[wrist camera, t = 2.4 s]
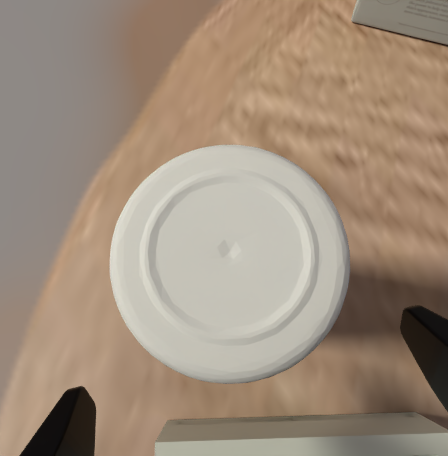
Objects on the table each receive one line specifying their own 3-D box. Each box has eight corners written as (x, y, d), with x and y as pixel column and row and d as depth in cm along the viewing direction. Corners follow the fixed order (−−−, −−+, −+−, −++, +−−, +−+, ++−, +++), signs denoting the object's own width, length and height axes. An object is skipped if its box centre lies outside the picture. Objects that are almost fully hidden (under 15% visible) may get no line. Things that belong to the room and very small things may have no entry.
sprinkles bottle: (269, 335, 18) (367, 397, 5) (186, 332, 18) (84, 385, 5) (269, 254, 19) (350, 138, 6) (192, 251, 20) (117, 132, 6)
